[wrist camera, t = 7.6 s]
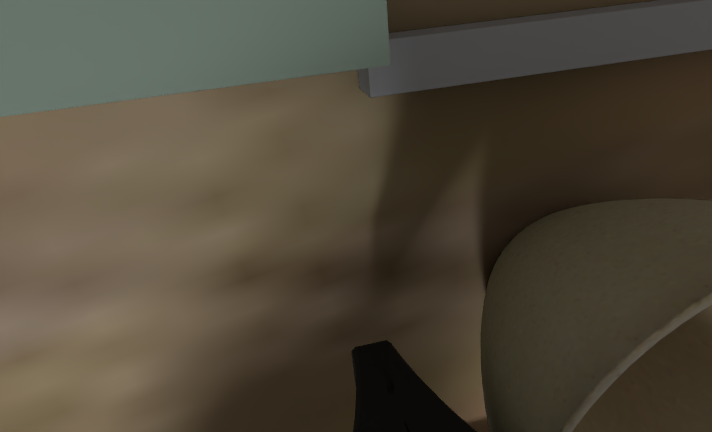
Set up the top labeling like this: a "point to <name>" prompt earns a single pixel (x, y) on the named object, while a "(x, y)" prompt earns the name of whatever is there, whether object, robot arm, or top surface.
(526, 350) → the flower pot
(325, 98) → the top surface
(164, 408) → the top surface
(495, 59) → the edging
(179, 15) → the cold frame
